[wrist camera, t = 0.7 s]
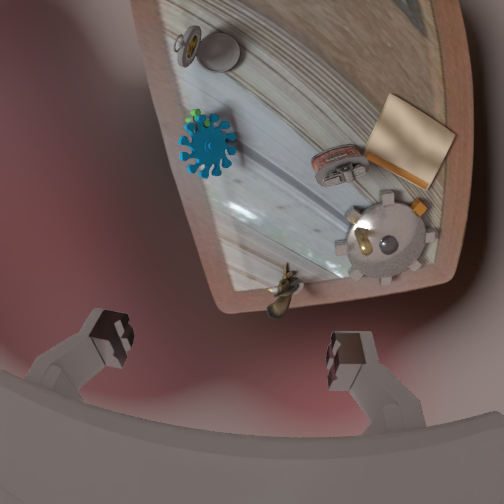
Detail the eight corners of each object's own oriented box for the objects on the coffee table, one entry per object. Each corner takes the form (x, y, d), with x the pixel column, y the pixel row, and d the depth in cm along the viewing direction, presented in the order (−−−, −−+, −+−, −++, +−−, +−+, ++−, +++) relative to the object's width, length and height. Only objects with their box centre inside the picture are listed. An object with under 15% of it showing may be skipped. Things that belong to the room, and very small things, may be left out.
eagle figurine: (265, 263, 59) (263, 294, 52) (302, 261, 58) (305, 292, 51) (269, 293, 63) (267, 324, 56) (303, 291, 62) (305, 322, 55)
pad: (389, 93, 39) (392, 94, 38) (452, 133, 41) (456, 135, 40) (360, 156, 46) (362, 158, 45) (424, 189, 47) (426, 191, 46)
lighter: (353, 140, 44) (370, 156, 36) (359, 158, 46) (377, 179, 38) (307, 155, 47) (314, 175, 38) (315, 174, 48) (322, 197, 40)
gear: (245, 165, 48) (194, 189, 43) (224, 163, 52) (175, 185, 47) (229, 99, 42) (172, 117, 37) (208, 103, 46) (155, 121, 41)
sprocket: (366, 172, 47) (379, 189, 40) (448, 215, 49) (466, 235, 43) (317, 263, 58) (321, 289, 51) (397, 291, 60) (407, 315, 54)
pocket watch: (245, 65, 39) (237, 63, 31) (194, 81, 41) (173, 84, 33) (231, 20, 35) (218, 7, 27) (179, 37, 37) (155, 30, 29)
